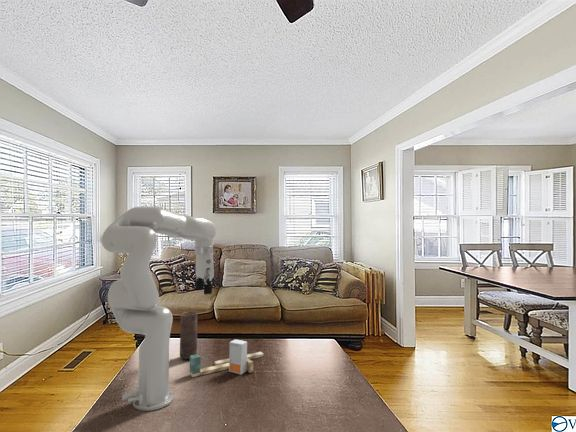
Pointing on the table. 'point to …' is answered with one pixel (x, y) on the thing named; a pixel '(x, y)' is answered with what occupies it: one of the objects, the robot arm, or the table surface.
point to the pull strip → (196, 370)
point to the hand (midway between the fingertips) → (203, 291)
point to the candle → (188, 334)
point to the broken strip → (250, 356)
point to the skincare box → (238, 356)
